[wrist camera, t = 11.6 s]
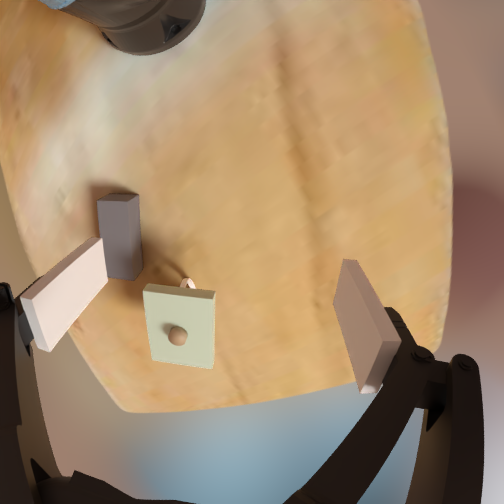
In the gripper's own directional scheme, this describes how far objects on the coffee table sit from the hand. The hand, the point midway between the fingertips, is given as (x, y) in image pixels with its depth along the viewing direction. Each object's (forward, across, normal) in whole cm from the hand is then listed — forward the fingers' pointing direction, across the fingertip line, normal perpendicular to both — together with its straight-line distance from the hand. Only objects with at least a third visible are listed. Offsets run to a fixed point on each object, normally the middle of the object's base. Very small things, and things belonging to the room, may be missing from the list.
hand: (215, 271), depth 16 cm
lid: (+19, -7, -19) cm, 27 cm away
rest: (+27, -18, -9) cm, 33 cm away
